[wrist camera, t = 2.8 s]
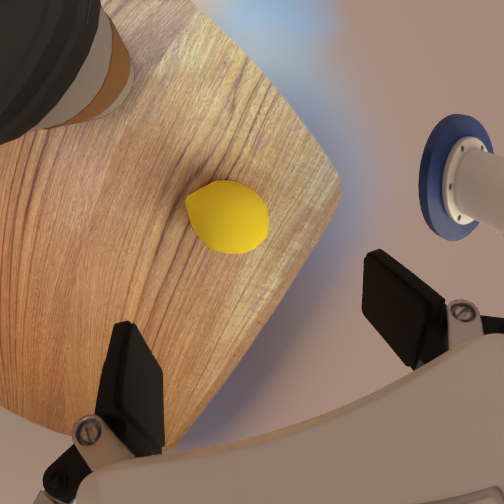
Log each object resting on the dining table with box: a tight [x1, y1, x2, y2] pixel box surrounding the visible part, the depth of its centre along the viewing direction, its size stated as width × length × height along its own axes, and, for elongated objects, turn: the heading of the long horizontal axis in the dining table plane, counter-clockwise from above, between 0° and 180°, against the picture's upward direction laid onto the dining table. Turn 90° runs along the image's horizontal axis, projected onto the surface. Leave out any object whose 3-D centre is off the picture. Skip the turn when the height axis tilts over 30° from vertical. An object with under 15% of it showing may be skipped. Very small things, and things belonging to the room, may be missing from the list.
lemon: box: [185, 180, 269, 254], centre depth 21 cm, size 7×5×5 cm
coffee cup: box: [0, 0, 134, 145], centre depth 10 cm, size 8×8×15 cm
